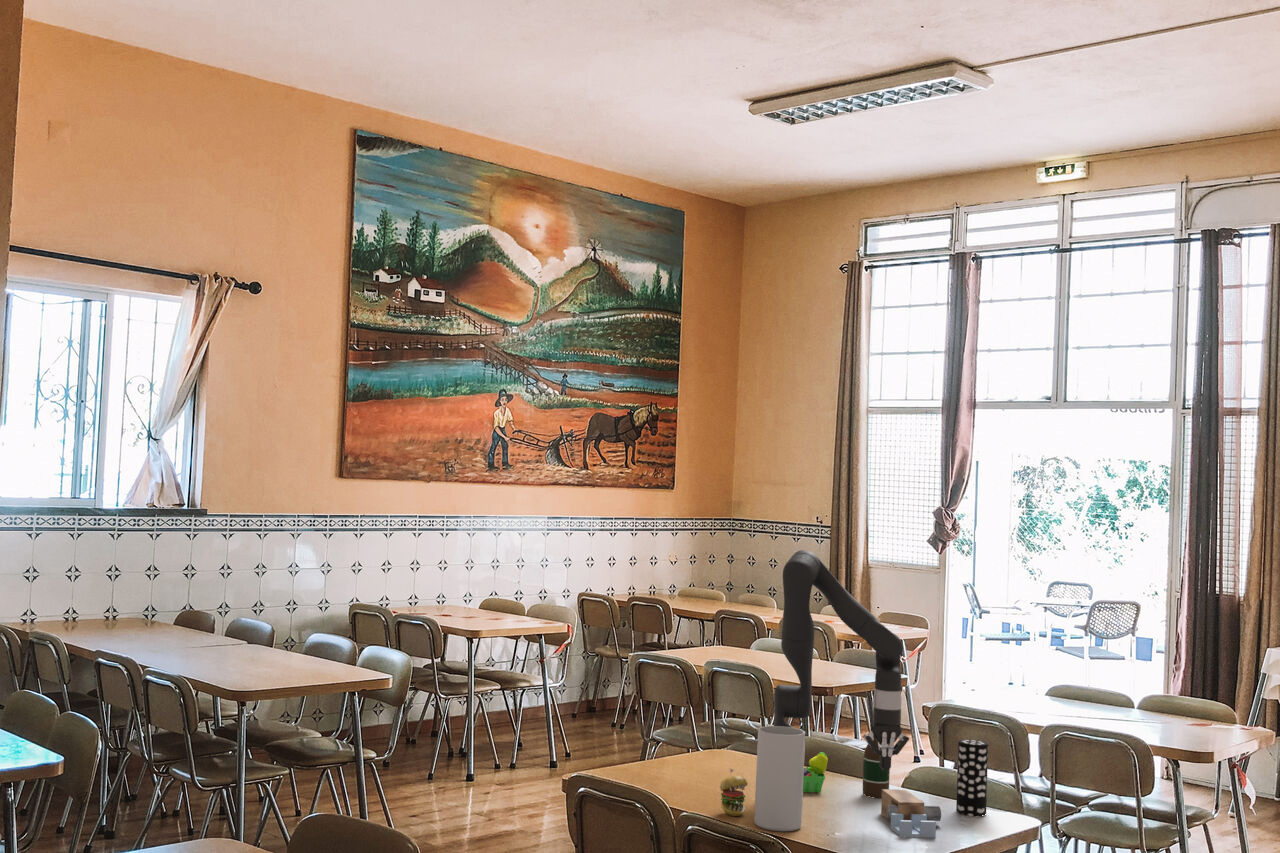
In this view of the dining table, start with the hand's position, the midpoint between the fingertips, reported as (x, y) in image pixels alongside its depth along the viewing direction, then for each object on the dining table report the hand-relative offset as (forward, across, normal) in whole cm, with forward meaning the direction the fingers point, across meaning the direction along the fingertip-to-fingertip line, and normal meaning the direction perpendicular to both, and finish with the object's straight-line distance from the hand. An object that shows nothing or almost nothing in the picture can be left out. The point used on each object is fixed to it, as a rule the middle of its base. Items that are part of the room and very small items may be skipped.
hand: (885, 769), depth 317 cm
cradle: (+14, +5, -10) cm, 18 cm away
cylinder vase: (+14, -31, -4) cm, 34 cm away
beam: (+14, +6, +2) cm, 16 cm away
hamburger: (+14, -41, +7) cm, 44 cm away
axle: (+13, +8, -1) cm, 16 cm away
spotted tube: (+15, +31, +12) cm, 37 cm away
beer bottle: (+15, +9, +31) cm, 35 cm away
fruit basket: (+15, -9, +37) cm, 41 cm away
